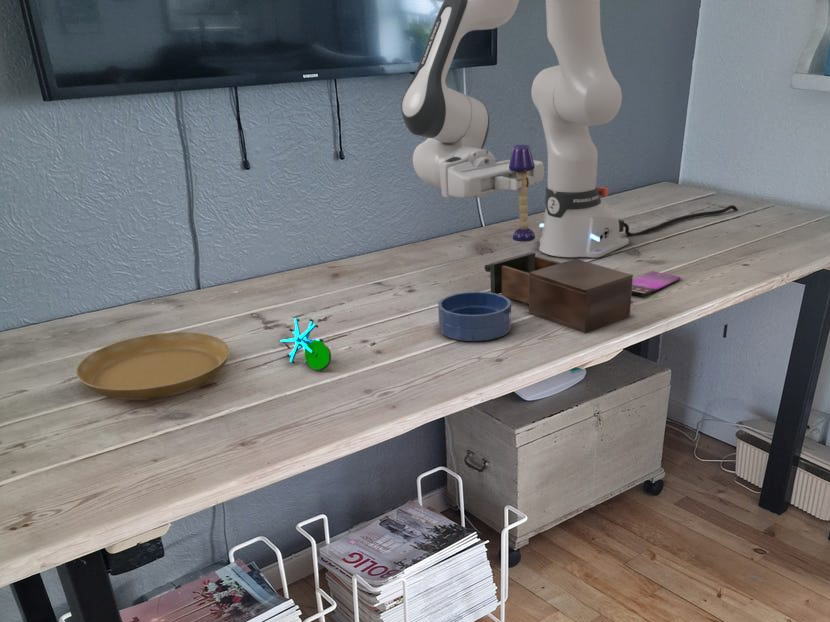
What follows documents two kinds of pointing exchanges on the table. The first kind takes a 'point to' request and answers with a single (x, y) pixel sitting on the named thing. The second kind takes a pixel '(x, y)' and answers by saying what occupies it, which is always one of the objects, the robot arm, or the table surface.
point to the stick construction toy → (309, 347)
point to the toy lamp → (522, 164)
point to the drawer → (515, 275)
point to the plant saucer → (153, 365)
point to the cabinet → (580, 294)
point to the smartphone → (651, 282)
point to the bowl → (474, 316)
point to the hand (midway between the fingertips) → (525, 183)
